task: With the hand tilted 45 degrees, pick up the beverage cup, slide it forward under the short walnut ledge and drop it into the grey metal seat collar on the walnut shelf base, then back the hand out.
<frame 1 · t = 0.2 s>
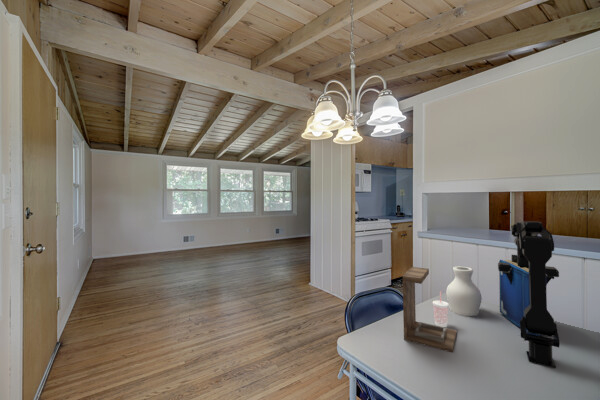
hand: (526, 290, 110), 15 cm above the table, tool pointing down, fingers open, 9 cm apart
seat shelf: (430, 336, 103), on the table
beverage cup: (441, 324, 113), on the table
book: (522, 325, 111), on the table
vase: (463, 311, 126), on the table
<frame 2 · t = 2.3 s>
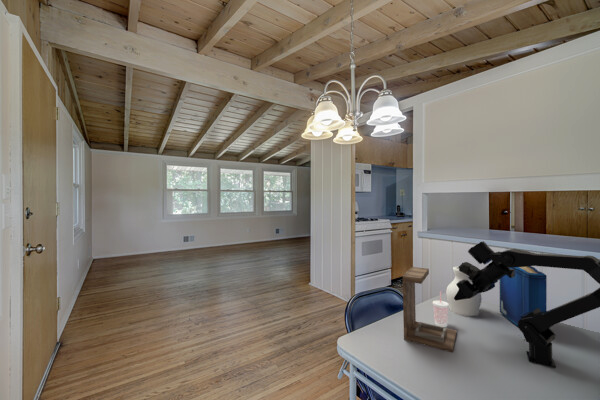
hand: (460, 296, 107), 13 cm above the table, tool tilted 45°, fingers open, 9 cm apart
nothing on the table moved.
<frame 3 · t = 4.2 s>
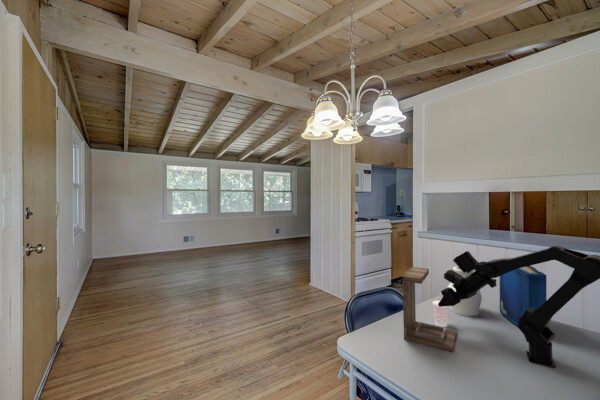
hand: (444, 302, 112), 10 cm above the table, tool tilted 45°, fingers open, 9 cm apart
nothing on the table moved.
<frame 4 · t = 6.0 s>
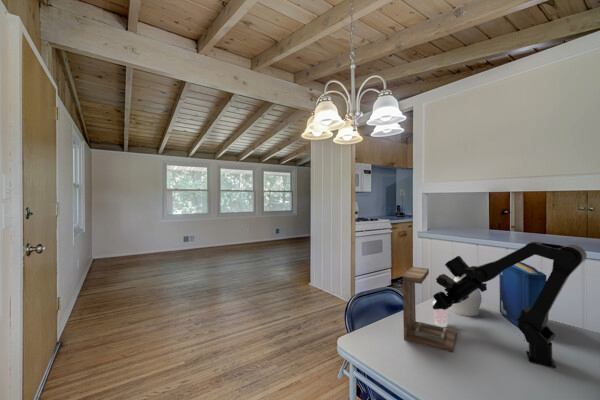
hand: (437, 306, 114), 7 cm above the table, tool tilted 45°, fingers closed on beverage cup, 6 cm apart
beverage cup: (441, 324, 113), on the table, touching gripper
everything else where it was.
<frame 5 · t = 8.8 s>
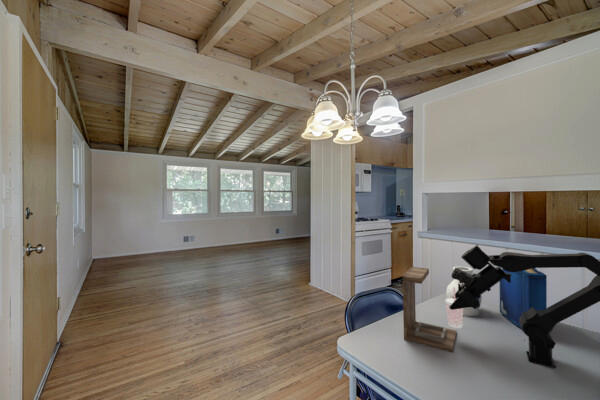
hand: (450, 305, 100), 13 cm above the table, tool tilted 45°, fingers closed on beverage cup, 6 cm apart
beverage cup: (455, 325, 99), point 6 cm above the table, touching gripper
everything else where it was.
when the fingers open (10 cm above the table, at t = 11.5 s): beverage cup drops 2 cm, resting on seat shelf.
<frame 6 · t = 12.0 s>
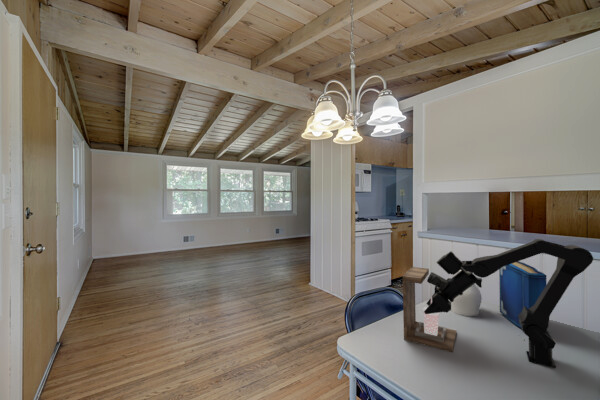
hand: (426, 308, 104), 10 cm above the table, tool tilted 45°, fingers open, 9 cm apart
beverage cup: (430, 333, 103), point 1 cm above the table, touching seat shelf
everything else where it was.
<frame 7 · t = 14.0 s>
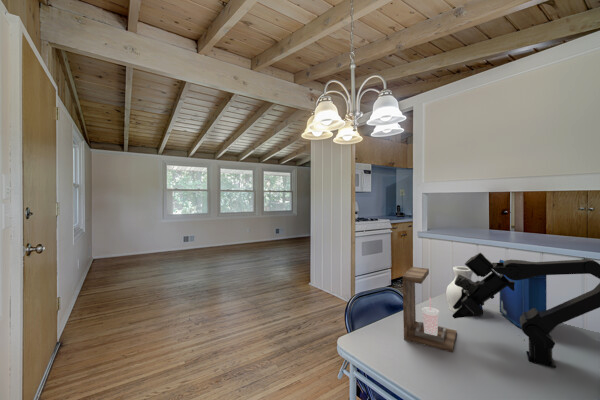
hand: (453, 312, 100), 11 cm above the table, tool tilted 45°, fingers open, 9 cm apart
nothing on the table moved.
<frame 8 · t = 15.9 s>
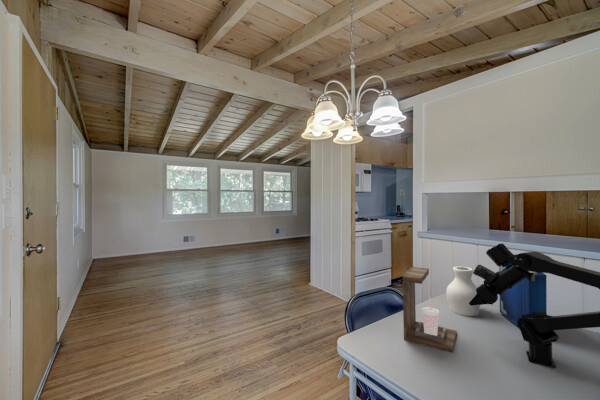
hand: (472, 300, 103), 14 cm above the table, tool tilted 45°, fingers open, 9 cm apart
nothing on the table moved.
at the end: beverage cup 0.0 cm off-centre on the seat shelf, point 0.8 cm above the seat shelf's base; beverage cup tilted 0°; the gripper is holding nothing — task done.
